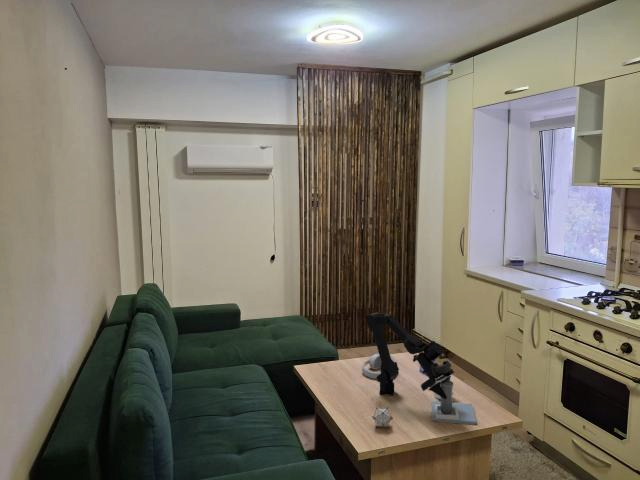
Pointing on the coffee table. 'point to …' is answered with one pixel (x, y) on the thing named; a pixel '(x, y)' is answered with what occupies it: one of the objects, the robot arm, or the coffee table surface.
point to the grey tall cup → (447, 403)
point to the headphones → (373, 366)
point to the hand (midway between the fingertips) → (449, 396)
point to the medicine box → (423, 370)
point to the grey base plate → (454, 413)
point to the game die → (382, 417)
